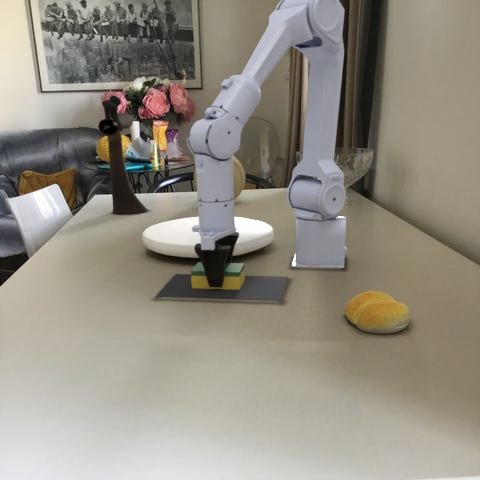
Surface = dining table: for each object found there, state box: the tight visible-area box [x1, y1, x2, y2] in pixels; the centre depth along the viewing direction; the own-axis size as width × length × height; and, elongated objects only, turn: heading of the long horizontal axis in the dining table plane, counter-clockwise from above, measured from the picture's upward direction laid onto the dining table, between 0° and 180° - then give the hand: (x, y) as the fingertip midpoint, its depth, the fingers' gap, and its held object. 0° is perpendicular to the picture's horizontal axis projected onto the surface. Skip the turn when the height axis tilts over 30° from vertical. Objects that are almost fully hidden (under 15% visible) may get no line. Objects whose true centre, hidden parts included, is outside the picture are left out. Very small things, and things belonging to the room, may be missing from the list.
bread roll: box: [344, 290, 411, 334], centre depth 78 cm, size 8×9×4 cm
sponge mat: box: [155, 273, 289, 302], centre depth 94 cm, size 20×12×1 cm, turn 80°
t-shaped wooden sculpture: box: [97, 95, 148, 215], centre depth 151 cm, size 32×10×30 cm, turn 4°
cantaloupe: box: [193, 155, 246, 201], centre depth 161 cm, size 15×15×15 cm
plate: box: [141, 216, 275, 259], centre depth 116 cm, size 28×6×27 cm
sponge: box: [190, 261, 246, 290], centre depth 94 cm, size 8×5×3 cm, turn 80°
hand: (219, 281), depth 94 cm, fingers closed on sponge, 5 cm apart
